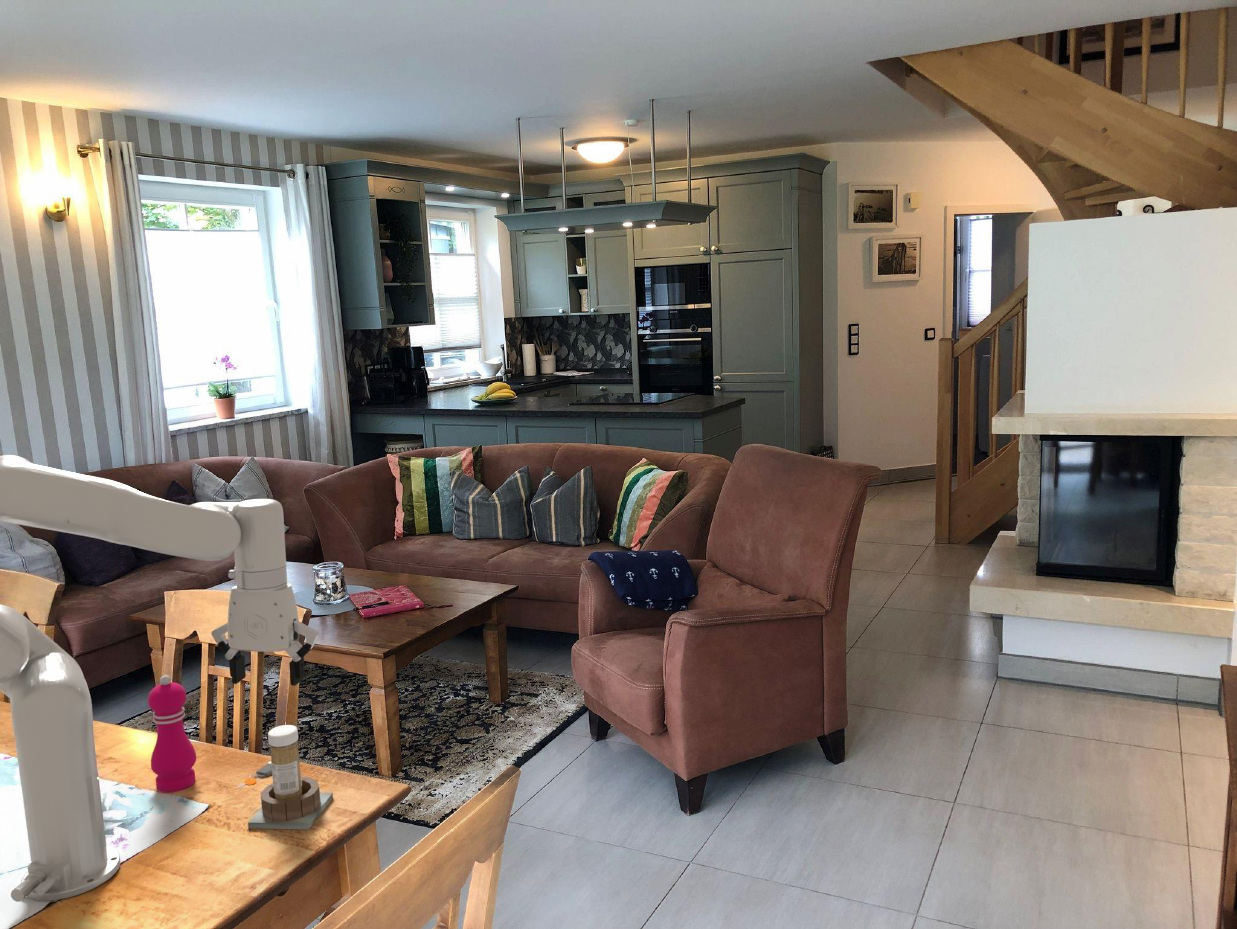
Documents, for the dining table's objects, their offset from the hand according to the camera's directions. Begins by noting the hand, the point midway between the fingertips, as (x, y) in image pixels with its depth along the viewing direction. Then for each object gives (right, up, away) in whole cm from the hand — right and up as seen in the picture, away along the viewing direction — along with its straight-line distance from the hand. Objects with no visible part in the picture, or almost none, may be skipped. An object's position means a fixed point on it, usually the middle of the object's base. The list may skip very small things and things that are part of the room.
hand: (267, 681), depth 152 cm
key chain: (-8, -21, +16) cm, 28 cm away
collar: (+3, -22, +4) cm, 23 cm away
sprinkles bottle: (+2, -22, +3) cm, 22 cm away
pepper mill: (-22, -22, +15) cm, 34 cm away
